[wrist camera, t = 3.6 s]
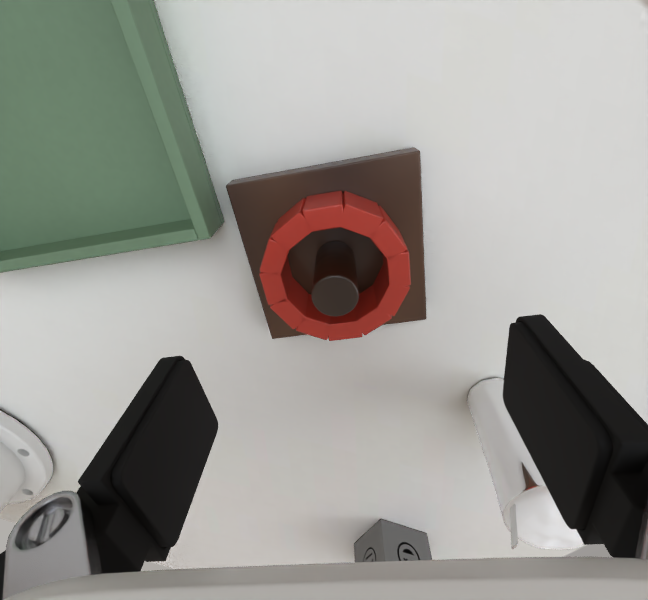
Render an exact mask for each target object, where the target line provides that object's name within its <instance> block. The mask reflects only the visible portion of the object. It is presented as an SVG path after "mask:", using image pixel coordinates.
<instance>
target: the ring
mask: <svg viewBox="0 0 648 600" xmlns="http://www.w3.org/2000/svg"><path fill="white" fill-rule="evenodd" d="M339 227H342V228H344V229H347V230H350V231H353V232H355V233H358V234H361V235H364V236H366V237H369V238H370V239H371V240H372V241H373V243H374V244H375V245H376V246H377V248H378V249H379V250H380V251H381V253H382V257H383V265H382V267H381V269H380V271H379V273H378V275H377V277H376V279H375V281H374V283H373V285H372V286H370V287H369V288H367V289H366V290H364V291H363V292H362V293H360V294H359V299H358V302H357V305H356V306H355V307H354V309H353V310H352V311H350V312H349V313H347V314H345V315H342V316H328V315H325V314H323V313H321V312H320V311H319V310H318V309H317V308H316V307H315V306H314V304H313V302H312V297H311V294H308V292H307V291H306V290H305V289H304V288H303V287H302V286H301V285H300V284H299V283H298V282H297V281H296V280H295V279H294V278H293V277H292V273H291V269H290V265H289V261H288V257H287V256H288V253H289V250H290V249H291V248H292V247H294V246H295V245H296V244H297V243H299V242H300V241H301V240H302V239H304V238H305V237H306V236H307V235H309V234H310V233H311V232H314V231H320V230H326V229H332V228H339ZM260 271H261V272H260V274H259V275H260V278H261V282H262V285H263V289H264V292H265V295H266V299H267V302H268V305H270V308H271V309H272V310H273V311H274V312H275V313H276V314H277V315H278V316H279V317H280V318H282V319H283V320H284V321H285V322H286V323H287V324H288V325H289V326H290V327H291V328H292V329H295V328H296V331H298V332H302V333H305V334H308V335H311V336H314V337H318V338H321V339H324V340H327V339H328V337H329V341H333V340H341V339H349V338H357V337H362V333H363V334H364V335H367V334H368V333H370V332H371V331H373V330H375V329H376V328H378V327H379V326H381V325H382V324H384V323H386V322H387V321H389V320H390V319H392V316H395V314H396V313H397V311H398V309H399V307H400V305H401V304H402V302H403V300H404V298H405V296H406V295H407V293H408V291H409V289H410V286H409V285H411V277H410V261H409V252H408V249H407V246H406V244H405V242H404V240H403V238H402V235H401V233H400V231H399V229H398V228H397V227H396V225H395V224H394V223H393V222H392V220H391V219H390V218H389V216H388V215H387V214H386V212H385V211H384V210H383V208H382V207H381V206H378V204H377V203H376V202H373V201H371V200H368V199H366V198H363V197H360V196H358V195H355V194H353V193H350V192H347V191H344V193H343V195H342V191H335V192H329V193H323V194H317V195H311V196H307V197H306V199H305V198H302V199H301V200H300V201H299V202H298V203H297V204H295V205H294V206H293V207H292V208H291V209H290V210H289V211H287V212H286V213H285V214H284V215H283V216H282V217H280V218H279V219H278V222H277V223H276V224H275V227H274V229H273V231H272V233H271V235H270V238H269V240H268V243H267V246H266V250H265V253H264V256H263V260H262V263H261V266H260ZM391 315H392V316H391Z"/></svg>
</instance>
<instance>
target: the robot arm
mask: <svg viewBox="0 0 648 600" xmlns="http://www.w3.org/2000/svg"><path fill="white" fill-rule="evenodd" d="M503 401H504V405H505V407H506V409H507V411H508V413H509V415H510V417H511V419H512V421H513V423H514V425H515V426H516V428H517V430H518V432H519V434H520V436H521V438H522V440H523V442H524V444H525V446H526V448H527V450H528V452H529V454H530V456H531V458H532V459H533V461H534V463H535V465H536V467H537V469H538V471H539V473H540V475H541V477H542V479H543V481H544V483H545V485H546V487H547V489H548V490H549V492H550V494H551V496H552V498H553V500H554V502H555V504H556V506H557V508H558V510H559V512H560V514H561V516H562V518H563V520H564V521H565V523H566V525H567V526H568V527H569V528H570V529H576V530H577V532H578V534H579V535H580V537H581V539H582V541H583V543H584V545H586V544H604V545H605V547H606V548H607V550H608V552H609V554H610V555H611V556H612V557H614V558H612V557H611V558H609V557H525V558H483V559H450V560H417V561H385V562H356V563H328V564H300V565H273V566H248V567H223V568H199V569H175V570H155V571H141V568H142V566H143V563H144V561H147V562H149V561H166V558H167V556H168V553H169V550H170V548H171V547H173V546H174V545H175V544H176V543H177V540H178V538H179V535H180V533H181V530H182V527H183V524H184V522H185V519H186V516H187V513H188V511H189V508H190V505H191V502H192V500H193V497H194V494H195V491H196V489H197V486H198V483H199V480H200V478H201V475H202V472H203V469H204V467H205V464H206V461H207V458H208V456H209V453H210V450H211V447H212V445H213V442H214V439H215V436H216V434H217V430H218V421H217V418H216V416H215V414H214V412H213V410H212V407H211V405H210V403H209V401H208V399H207V397H206V395H205V392H204V390H203V388H202V386H201V384H200V382H199V380H198V377H197V375H196V373H195V371H194V369H193V367H192V365H191V363H190V361H188V360H185V359H184V358H183V357H182V356H175V357H166V358H162V359H160V360H159V362H158V363H157V365H156V366H155V368H154V369H153V371H152V372H151V374H150V375H149V376H148V378H147V379H146V381H145V382H144V384H143V385H142V387H141V388H140V390H139V391H138V393H137V394H136V396H135V397H134V399H133V400H132V402H131V403H130V405H129V406H128V408H127V409H126V411H125V412H124V414H123V415H122V417H121V418H120V420H119V421H118V423H117V424H116V426H115V427H114V429H113V430H112V431H111V433H110V434H109V436H108V437H107V439H106V440H105V442H104V443H103V445H102V446H101V448H100V449H99V451H98V452H97V454H96V455H95V457H94V458H93V460H92V461H91V463H90V464H89V466H88V467H87V469H86V470H85V472H84V473H83V475H82V476H81V478H80V479H79V481H78V483H79V484H80V485H81V487H80V488H79V490H78V491H77V493H75V492H73V491H62V492H58V493H54V494H52V495H50V496H48V497H46V498H44V499H43V500H41V501H40V502H38V503H37V504H36V505H34V506H33V507H32V508H31V509H30V510H28V511H27V512H26V513H25V514H24V515H23V516H22V517H21V519H20V520H19V521H18V522H17V523H16V525H15V526H14V528H13V530H12V531H11V533H10V535H9V537H8V541H7V545H6V550H5V551H4V552H3V553H1V554H0V600H648V425H647V423H646V422H645V421H644V420H643V419H642V418H641V417H640V416H639V415H638V414H637V412H636V411H635V410H634V409H633V408H632V407H631V406H630V405H629V404H628V403H627V402H626V400H625V399H624V398H623V397H622V396H621V395H620V394H619V393H618V392H617V391H616V389H615V388H614V387H613V386H612V385H611V384H610V383H609V382H608V381H607V380H606V379H605V377H604V376H603V375H602V374H601V373H600V372H599V371H598V370H597V369H596V368H595V366H594V365H592V364H591V363H590V362H589V361H586V360H583V359H582V358H581V356H580V355H579V354H578V353H577V352H576V351H575V350H574V349H573V348H572V346H571V345H570V344H569V343H568V342H567V341H566V340H565V339H564V337H563V336H562V335H561V334H560V333H559V332H558V331H557V330H556V329H555V327H554V326H553V325H552V324H551V323H550V322H549V321H548V320H547V318H546V317H545V316H543V315H532V316H523V317H518V318H517V320H516V323H511V325H510V328H509V338H508V347H507V357H506V366H505V375H504V385H503ZM52 474H53V463H52V459H51V456H50V454H49V452H48V450H47V448H46V447H45V446H44V444H43V443H42V442H41V441H40V439H39V438H38V437H37V436H36V435H35V434H34V433H33V432H31V431H30V430H29V429H28V428H27V427H26V426H24V425H23V424H21V423H20V422H19V421H17V420H16V419H14V418H13V417H11V416H9V415H7V414H6V413H4V412H2V411H0V512H1V510H2V509H3V508H4V507H5V505H6V504H14V503H20V502H24V501H27V500H30V499H32V498H34V497H35V496H37V495H38V494H40V492H41V491H42V490H43V489H44V487H45V486H46V485H47V484H48V482H49V480H50V479H51V477H52Z"/></svg>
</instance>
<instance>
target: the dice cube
mask: <svg viewBox="0 0 648 600" xmlns="http://www.w3.org/2000/svg"><path fill="white" fill-rule="evenodd" d="M354 552H355V563H356V562H385V561H417V560H432V556H431V552H430V547H429V542H428V537H427V533H423V532H420V531H417V530H414V529H411V528H408V527H405V526H401V525H398V524H395V523H392V522H389V521H386V520H383V519H380V520H379V521H378V522H377V523H376V524H375V525H374V526H373V527H372V528H371V529H370V530H368V531H367V532H366V533H365V534H364V535H363V536H362V537H361V538H360V539H359V540H358V541H357V542H356V543H354Z"/></svg>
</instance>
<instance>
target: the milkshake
mask: <svg viewBox="0 0 648 600" xmlns="http://www.w3.org/2000/svg"><path fill="white" fill-rule="evenodd" d="M503 385H504V379H501V378H492V379H487V380H482V381H480V382H479V383H478V384H477V385H475V386H474V387H473V388H471V389H470V391H469V395H468V398H467V403H468V406H469V409H470V412H471V415H472V418H473V422H474V425H475V428H476V431H477V434H478V437H479V440H480V443H481V446H482V450H483V453H484V456H485V459H486V462H487V465H488V468H489V472H490V475H491V478H492V482H493V485H494V489H495V492H496V496H497V499H498V503H499V506H500V510H501V513H502V516H503V520H504V523H505V525H506V527H507V529H508V530H509V531H510V532H511V548H512V549H514V548H515V547H516V546H517V545H518V539H520V540H522V541H523V542H525V543H527V544H529V545H532V546H534V547H537V548H541V549H573V548H578V547H581V546H583V545H584V543H583V541H582V539H581V537H580V535H579V534H578V532H577V530H576V529H570V528H569V527H568V526H567V525H566V523H565V521H564V520H563V518H562V516H561V514H560V512H559V510H558V508H557V506H556V504H555V502H554V500H553V498H552V496H551V494H550V492H549V490H548V489H547V487H546V485H545V483H544V481H543V479H542V477H541V475H540V473H539V471H538V469H537V467H536V465H535V463H534V461H533V459H532V458H531V456H530V454H529V452H528V450H527V448H526V446H525V444H524V442H523V440H522V438H521V436H520V434H519V432H518V430H517V428H516V426H515V425H514V423H513V421H512V419H511V417H510V415H509V413H508V411H507V409H506V407H505V405H504V401H503Z"/></svg>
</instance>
